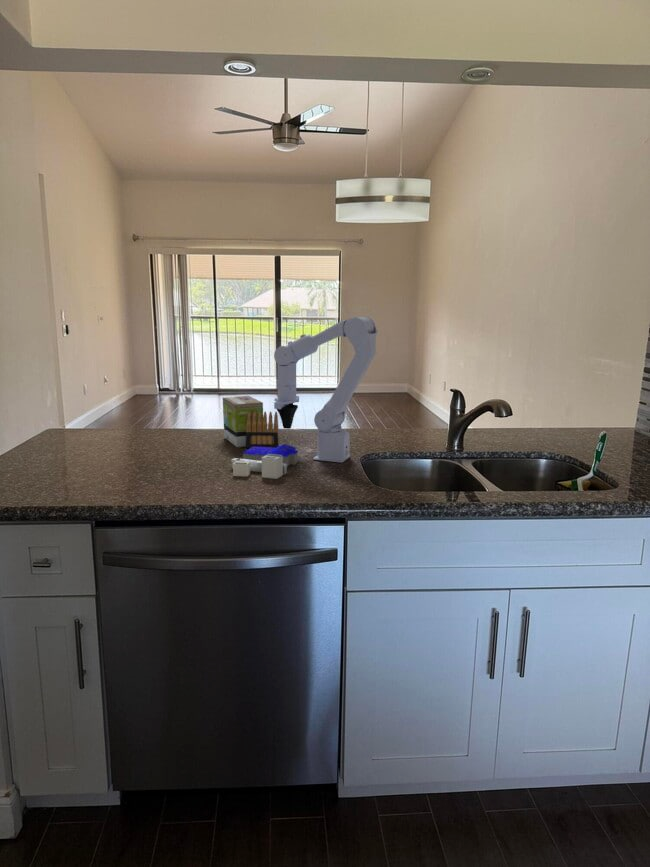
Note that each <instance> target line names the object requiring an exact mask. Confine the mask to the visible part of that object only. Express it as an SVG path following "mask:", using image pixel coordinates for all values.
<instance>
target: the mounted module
mask: <svg viewBox="0 0 650 867" xmlns="http://www.w3.org/2000/svg"><path fill="white" fill-rule="evenodd" d="M282 476H284V475H283V456H282V455H276V454H266V456H264V457H262V472H261V477H262V478H264V479H265V478H266V479H275V480H277V479H279V478H280V477H282Z"/></svg>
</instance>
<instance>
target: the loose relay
mask: <svg viewBox="0 0 650 867" xmlns="http://www.w3.org/2000/svg"><path fill="white" fill-rule="evenodd" d="M232 474H233V475H232V476H233V477H249V475H250V474H251V471H250V462H248V461H235V462H234V463H233V469H232Z"/></svg>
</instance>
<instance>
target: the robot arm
mask: <svg viewBox="0 0 650 867" xmlns="http://www.w3.org/2000/svg"><path fill="white" fill-rule="evenodd" d="M377 334H378V329H377V326H376V324H375V322H374V320H373V319H372V318H371V317H369V316H361V317H357V316H352V317H349V318H348V319H344V320H341V321H340V322H339V321H338V322H337V323H335V324H334V325H331V326H330V327H328V328H326V329H324V330H322V331H320V332H318V333H317V334H315V335H312V334H310V333H309V334H305V333H304V334H301V335H300V336H299V337H300V338H298V339H296V340H294V341H291V340H290V341H289V342H287V345H286V346H285V345H280V346H279V347H277V348H276V349H275V351H274V352H273V353H274V354H273V358H274V360H275V362H276V364H277V397H276V398H274V401H275V402H273V404H274V405H273V406H274V407H273V408H274V410H276V412H277V413H278V414H279V417H280V420H281V423H282V427H283V429H289V430H290V429H291V428H292V425H293V422H294V417H295V413H296V412H297V410H298V408H299V406H298V404H295V403H300V396H299V395H297V364H298V362H299V361H300V360H302V359H304V358H306V357H308V356H310V355H312V354H315V353H316V352H317V351H318V349H319V347H320V346H322V345H323V344H326V343H327V342H330V341H332V340H335V339H337V338H340V337H341V338H344V337H345V338H347V339H348V340H349V342H350V343H351V344H352V347H353V349H354V352H355V353H354V355H353V357H352V359H351V361H350V363H349V365H348V366H347V368H346V370H345V371H344V374H343V376H342V378H341V379H340V381H339V383H338V384H337V386H336V388H335V390H334V392H333V394H332V395H331V397H330V399H329V400H328V401H327V402H326V403H325V404H324V405H323V407H322V408H321V409H320V410H319V411H317V413H315V415H314V420H313V422H314V425H315V427H316V428H317V455H315V456H314V457H313V458H312V459H313V460H314V461H323V462H335V463H344V462H345V461H346V460H348V459H350V457H351V454H350V450H351V449H350V448H351V447H350V446H351V444H350V443H351V442H350V441H351V437H350V432H348V431H346V430H342V424H343V423H344V422H345V418H346V413H347V410H348V403H349V402H350V399H351V398H352V396H354V393H355V391H356V389H357V388H358V386H359V385H360V383H361V381H362V379H363V377H364V375H365V374H366V371H367V369H368V368H369V366H370V365H371V363H372V361H373V360H374V358H375V356H376V350H377V349H376V348H377V347H376V344H377V342H376V340H377V337H376V336H377Z"/></svg>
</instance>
